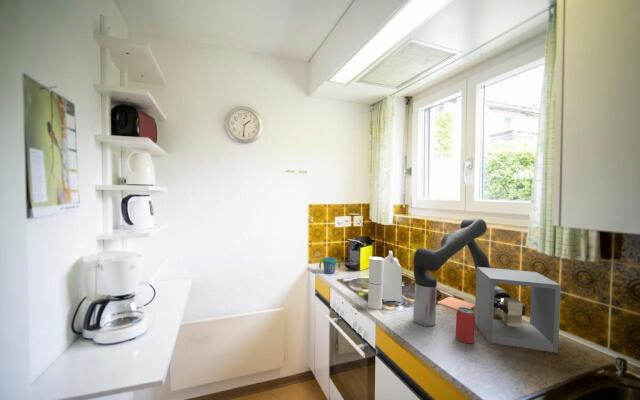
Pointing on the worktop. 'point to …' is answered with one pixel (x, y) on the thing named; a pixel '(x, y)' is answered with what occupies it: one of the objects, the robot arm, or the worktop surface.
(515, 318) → the maple block
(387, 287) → the milk
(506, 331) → the box
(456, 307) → the terracotta mat
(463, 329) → the beer can
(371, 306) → the cylindrical container
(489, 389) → the worktop surface
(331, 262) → the snack cup
